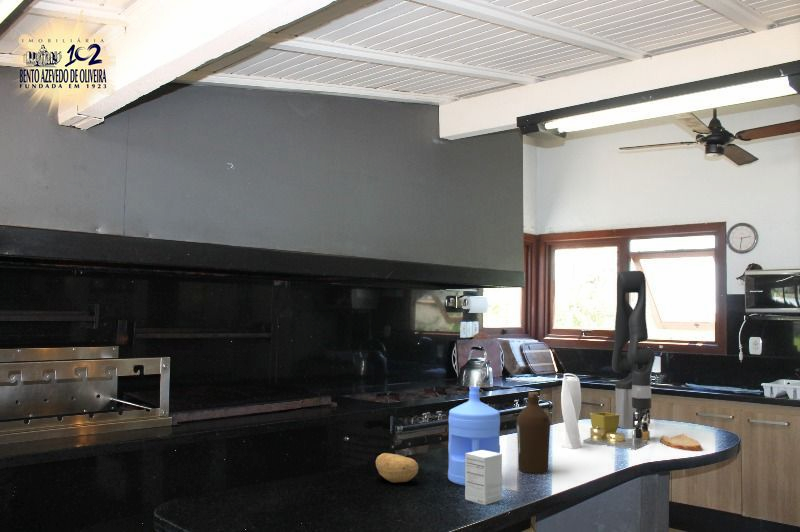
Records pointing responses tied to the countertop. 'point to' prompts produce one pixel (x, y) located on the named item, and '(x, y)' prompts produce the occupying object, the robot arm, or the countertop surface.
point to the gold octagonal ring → (644, 435)
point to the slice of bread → (681, 443)
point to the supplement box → (483, 477)
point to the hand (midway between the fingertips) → (641, 436)
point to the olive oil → (533, 437)
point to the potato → (396, 467)
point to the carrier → (613, 439)
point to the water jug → (471, 433)
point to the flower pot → (605, 421)
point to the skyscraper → (571, 411)
